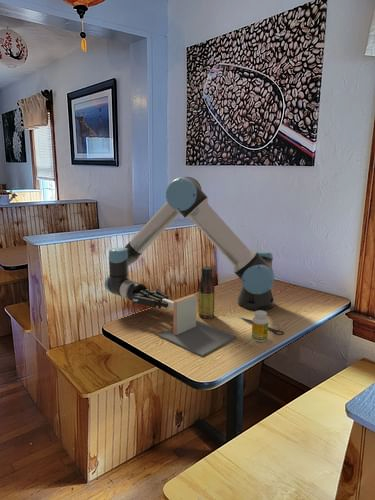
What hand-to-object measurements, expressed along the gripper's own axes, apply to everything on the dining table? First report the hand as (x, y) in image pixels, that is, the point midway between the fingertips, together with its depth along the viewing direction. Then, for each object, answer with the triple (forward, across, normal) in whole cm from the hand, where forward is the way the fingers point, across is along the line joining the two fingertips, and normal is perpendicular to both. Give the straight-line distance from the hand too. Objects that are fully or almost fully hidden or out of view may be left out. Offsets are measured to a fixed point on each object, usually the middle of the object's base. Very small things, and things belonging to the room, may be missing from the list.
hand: (176, 307), depth 130 cm
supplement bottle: (+26, -15, -9) cm, 31 cm away
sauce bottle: (0, -16, -9) cm, 19 cm away
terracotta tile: (+4, -1, -8) cm, 9 cm away
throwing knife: (+20, -24, -9) cm, 32 cm away
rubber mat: (+10, -1, -8) cm, 13 cm away
